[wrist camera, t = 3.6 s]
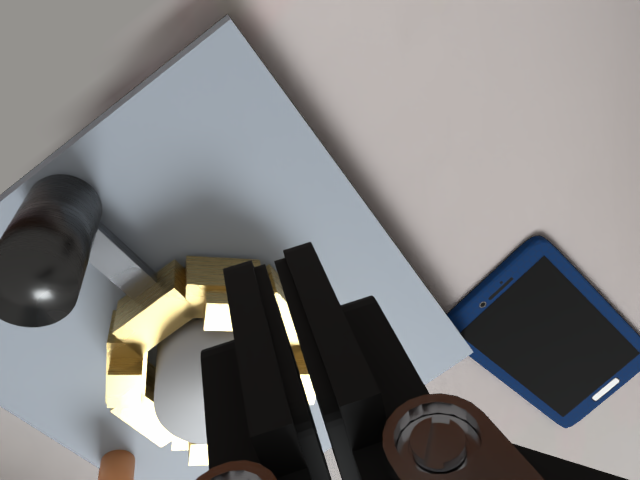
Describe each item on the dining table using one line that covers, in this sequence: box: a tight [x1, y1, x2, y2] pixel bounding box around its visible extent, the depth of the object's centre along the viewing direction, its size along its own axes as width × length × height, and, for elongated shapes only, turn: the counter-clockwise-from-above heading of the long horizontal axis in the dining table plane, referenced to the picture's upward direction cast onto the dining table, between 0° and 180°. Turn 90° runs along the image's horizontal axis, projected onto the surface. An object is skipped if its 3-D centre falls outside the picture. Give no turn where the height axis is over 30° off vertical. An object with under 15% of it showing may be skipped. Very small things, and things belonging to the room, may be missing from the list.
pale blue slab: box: [0, 14, 473, 480], centre depth 24 cm, size 18×20×6 cm
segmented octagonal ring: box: [0, 174, 316, 466], centre depth 21 cm, size 14×8×6 cm, turn 35°
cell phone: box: [447, 236, 640, 428], centre depth 32 cm, size 7×14×1 cm, turn 46°
